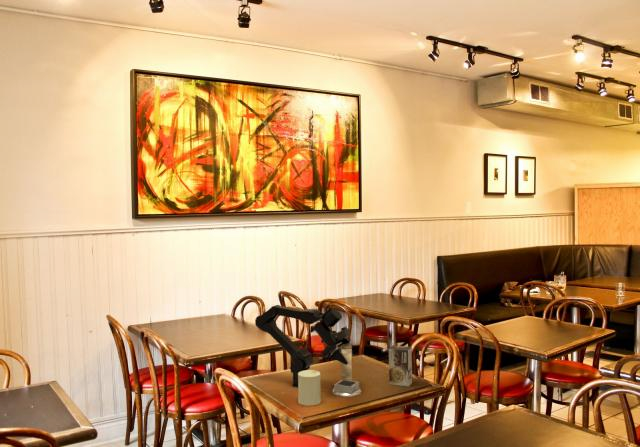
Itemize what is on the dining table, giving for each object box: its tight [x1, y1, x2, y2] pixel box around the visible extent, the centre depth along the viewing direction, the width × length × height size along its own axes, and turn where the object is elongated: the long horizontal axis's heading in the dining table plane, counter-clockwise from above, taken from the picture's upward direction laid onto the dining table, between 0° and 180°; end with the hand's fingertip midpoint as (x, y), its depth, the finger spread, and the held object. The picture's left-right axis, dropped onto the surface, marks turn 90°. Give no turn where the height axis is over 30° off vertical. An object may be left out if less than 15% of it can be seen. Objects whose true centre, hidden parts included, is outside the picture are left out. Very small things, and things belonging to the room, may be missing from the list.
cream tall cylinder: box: [340, 343, 353, 381], centre depth 231 cm, size 4×4×14 cm
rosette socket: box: [332, 379, 362, 398], centre depth 232 cm, size 12×12×4 cm
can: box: [297, 369, 322, 407], centre depth 220 cm, size 9×9×12 cm
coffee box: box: [388, 345, 413, 388], centre depth 242 cm, size 9×6×16 cm
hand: (349, 362), depth 231 cm, fingers closed on cream tall cylinder, 4 cm apart
